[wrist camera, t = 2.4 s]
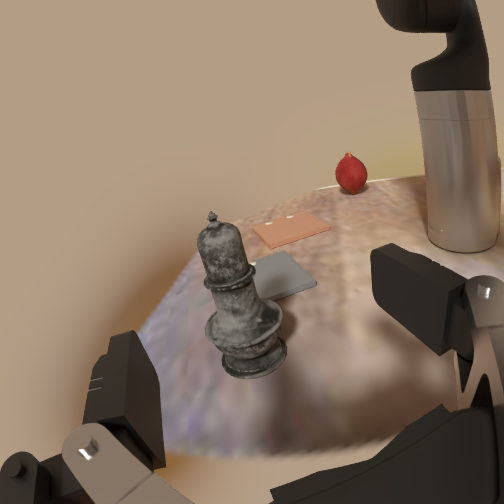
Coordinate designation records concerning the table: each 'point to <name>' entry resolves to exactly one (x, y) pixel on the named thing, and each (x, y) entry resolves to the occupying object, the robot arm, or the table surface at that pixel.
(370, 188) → the table surface
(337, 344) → the table surface
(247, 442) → the table surface
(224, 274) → the salt shaker
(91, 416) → the robot arm
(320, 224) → the tile two
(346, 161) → the onion
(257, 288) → the tile one
